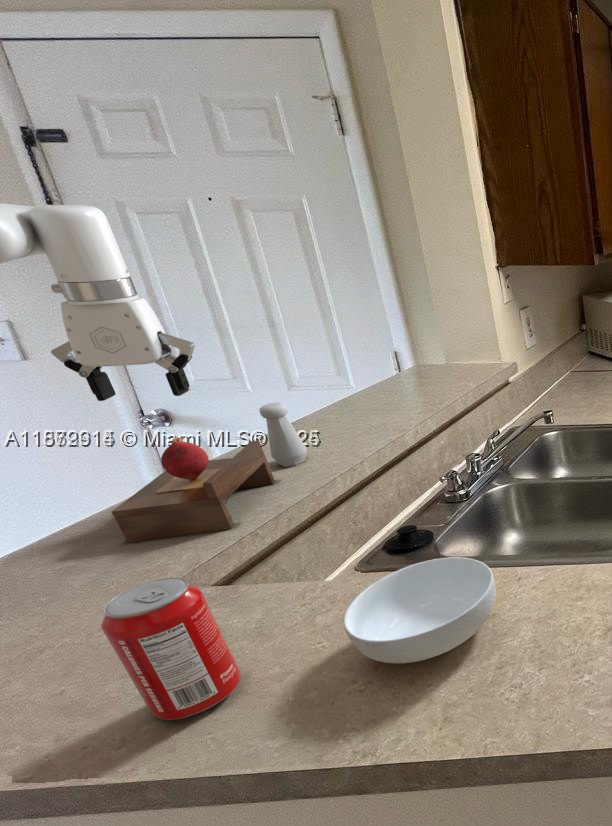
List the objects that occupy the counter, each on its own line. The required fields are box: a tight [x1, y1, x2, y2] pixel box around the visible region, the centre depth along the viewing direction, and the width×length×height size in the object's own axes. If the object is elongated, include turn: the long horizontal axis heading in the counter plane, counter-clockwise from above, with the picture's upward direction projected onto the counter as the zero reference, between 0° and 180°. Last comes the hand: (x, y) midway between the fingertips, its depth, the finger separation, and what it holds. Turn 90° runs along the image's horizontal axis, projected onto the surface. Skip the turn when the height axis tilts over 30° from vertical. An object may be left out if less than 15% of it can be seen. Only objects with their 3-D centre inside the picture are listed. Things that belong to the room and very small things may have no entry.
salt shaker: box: [259, 402, 308, 468], centre depth 125 cm, size 6×6×13 cm
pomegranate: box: [160, 436, 210, 480], centre depth 106 cm, size 6×6×8 cm
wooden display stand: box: [111, 440, 276, 544], centre depth 109 cm, size 14×18×9 cm
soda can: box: [101, 577, 242, 721], centre depth 69 cm, size 8×8×15 cm
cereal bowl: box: [343, 556, 497, 664], centre depth 80 cm, size 17×17×7 cm
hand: (145, 395), depth 101 cm, fingers open, 9 cm apart
